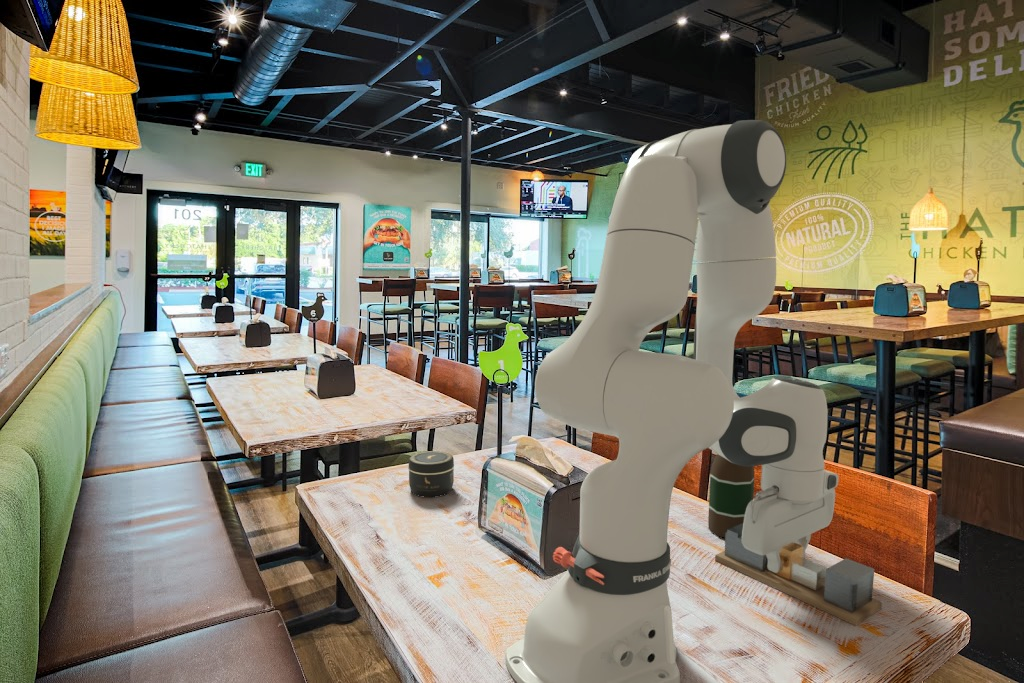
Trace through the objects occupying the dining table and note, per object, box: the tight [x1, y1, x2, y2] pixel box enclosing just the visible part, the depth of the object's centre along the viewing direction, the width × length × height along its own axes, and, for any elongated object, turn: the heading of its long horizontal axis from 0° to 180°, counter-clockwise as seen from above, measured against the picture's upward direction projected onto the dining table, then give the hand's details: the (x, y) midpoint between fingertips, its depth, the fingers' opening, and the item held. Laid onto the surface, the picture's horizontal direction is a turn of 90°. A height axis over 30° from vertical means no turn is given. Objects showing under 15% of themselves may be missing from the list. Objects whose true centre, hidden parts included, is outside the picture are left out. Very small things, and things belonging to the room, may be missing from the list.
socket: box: [824, 557, 875, 613], centre depth 88 cm, size 6×4×5 cm
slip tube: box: [741, 536, 828, 590], centre depth 97 cm, size 3×14×5 cm, turn 35°
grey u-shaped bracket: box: [724, 523, 766, 572], centre depth 101 cm, size 5×7×5 cm
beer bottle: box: [707, 453, 755, 539], centre depth 112 cm, size 8×8×24 cm
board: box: [714, 550, 883, 626], centre depth 95 cm, size 8×23×1 cm, turn 35°
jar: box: [407, 450, 455, 498], centre depth 134 cm, size 10×10×8 cm
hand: (786, 564), depth 96 cm, fingers open, 5 cm apart
